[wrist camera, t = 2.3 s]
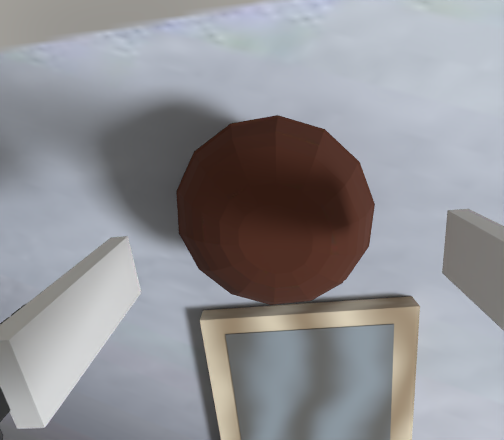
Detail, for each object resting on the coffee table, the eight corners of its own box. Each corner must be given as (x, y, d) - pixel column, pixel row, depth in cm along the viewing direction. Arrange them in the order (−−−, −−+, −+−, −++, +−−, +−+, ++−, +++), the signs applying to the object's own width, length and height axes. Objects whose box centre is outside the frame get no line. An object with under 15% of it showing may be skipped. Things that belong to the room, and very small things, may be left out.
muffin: (378, 189, 25) (448, 236, 15) (281, 285, 28) (288, 374, 18) (261, 81, 23) (257, 56, 13) (169, 196, 26) (112, 244, 16)
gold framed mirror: (228, 457, 34) (226, 473, 33) (203, 310, 29) (199, 321, 27) (403, 451, 33) (410, 468, 31) (411, 296, 27) (420, 306, 26)
